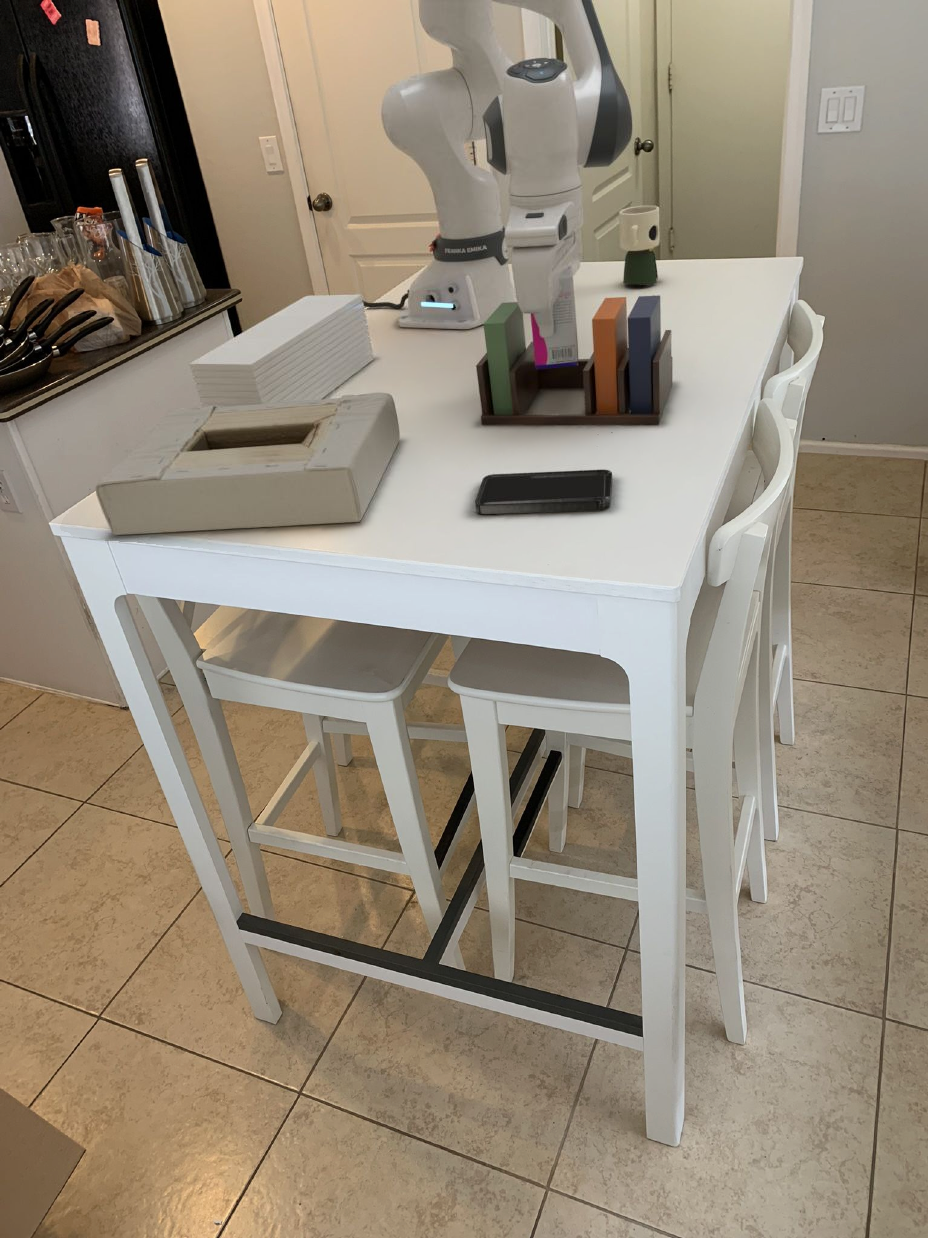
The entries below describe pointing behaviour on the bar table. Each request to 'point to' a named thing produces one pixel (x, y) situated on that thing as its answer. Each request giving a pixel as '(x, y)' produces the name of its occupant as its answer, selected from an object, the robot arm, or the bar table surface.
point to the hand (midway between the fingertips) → (554, 325)
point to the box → (254, 466)
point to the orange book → (609, 351)
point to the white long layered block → (288, 355)
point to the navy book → (643, 351)
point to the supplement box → (558, 331)
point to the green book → (503, 352)
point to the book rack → (574, 377)
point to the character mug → (639, 243)
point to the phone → (545, 492)
